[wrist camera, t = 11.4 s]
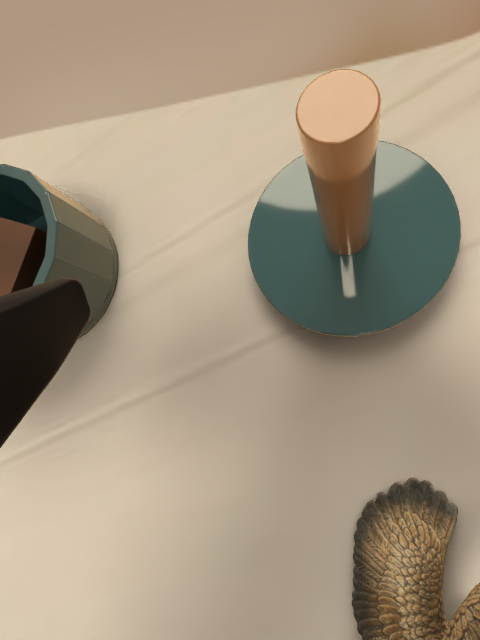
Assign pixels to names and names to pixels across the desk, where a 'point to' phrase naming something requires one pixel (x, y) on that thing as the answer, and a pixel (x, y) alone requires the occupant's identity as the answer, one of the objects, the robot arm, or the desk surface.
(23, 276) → the block
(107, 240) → the pot
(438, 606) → the eagle figurine
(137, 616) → the desk surface
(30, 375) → the robot arm
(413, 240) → the lid
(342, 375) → the desk surface
